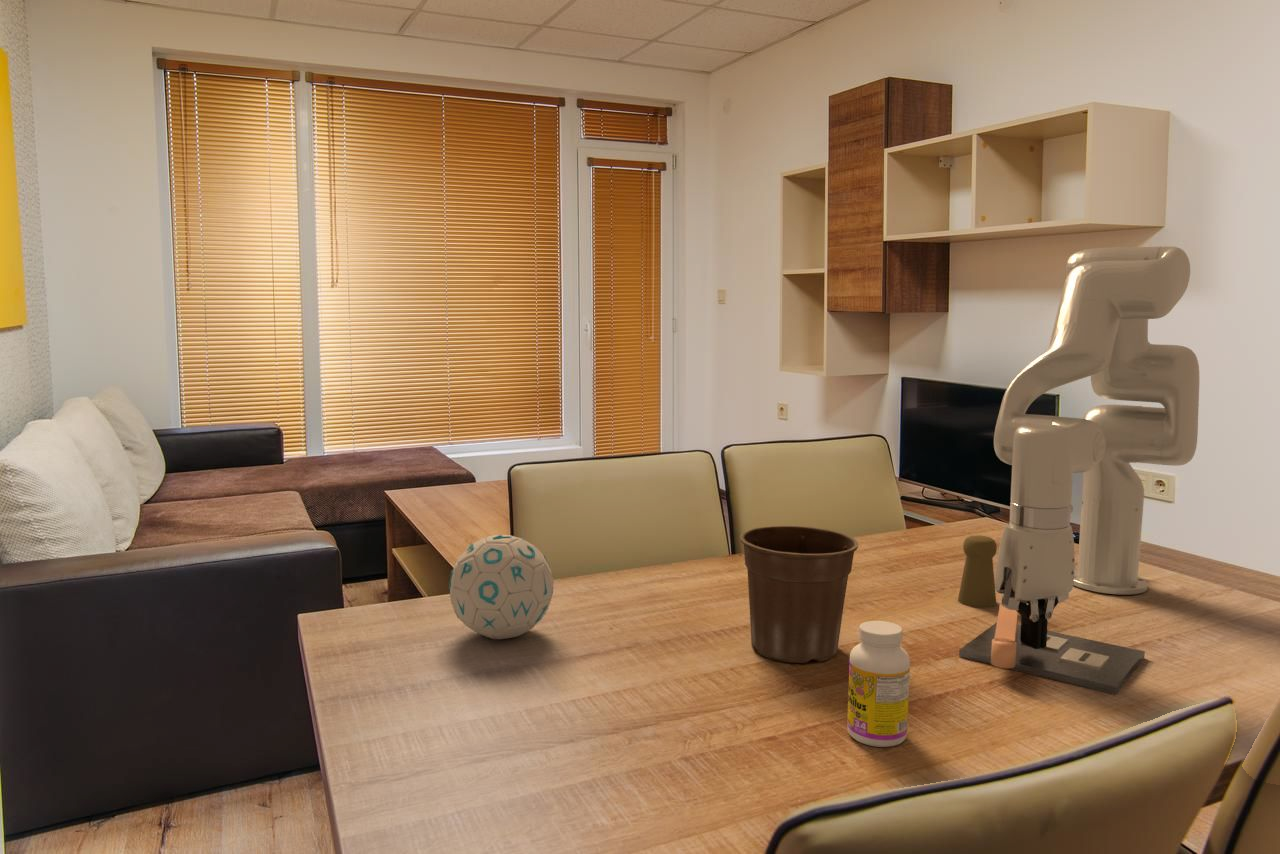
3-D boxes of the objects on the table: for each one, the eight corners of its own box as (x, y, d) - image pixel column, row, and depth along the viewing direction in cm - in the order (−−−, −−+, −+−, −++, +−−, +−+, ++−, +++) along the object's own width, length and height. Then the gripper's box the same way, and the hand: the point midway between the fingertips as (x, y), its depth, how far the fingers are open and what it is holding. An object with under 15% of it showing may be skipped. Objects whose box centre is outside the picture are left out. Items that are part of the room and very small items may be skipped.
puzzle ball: (430, 635, 140) (427, 536, 138) (509, 611, 150) (508, 519, 149) (494, 662, 129) (492, 555, 127) (575, 634, 140) (574, 535, 138)
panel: (998, 626, 144) (1000, 588, 144) (1144, 658, 132) (1147, 616, 131) (959, 656, 132) (961, 615, 131) (1115, 694, 119) (1118, 648, 119)
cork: (999, 608, 153) (1003, 542, 151) (960, 606, 154) (963, 540, 153) (993, 597, 159) (996, 533, 157) (955, 595, 160) (958, 531, 158)
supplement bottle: (839, 724, 111) (843, 617, 109) (894, 722, 111) (898, 616, 110) (857, 750, 104) (861, 638, 103) (915, 748, 105) (920, 636, 103)
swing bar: (997, 622, 140) (998, 602, 140) (1018, 625, 139) (1020, 605, 139) (990, 666, 123) (991, 644, 123) (1014, 669, 122) (1016, 647, 122)
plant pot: (860, 637, 140) (864, 530, 138) (846, 677, 125) (851, 558, 123) (751, 624, 145) (754, 521, 143) (726, 661, 130) (728, 547, 128)
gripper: (1061, 504, 134) (1054, 628, 137) (975, 515, 129) (970, 643, 132) (1104, 516, 127) (1096, 646, 130) (1015, 528, 122) (1009, 663, 125)
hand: (1033, 644), depth 131 cm, fingers closed
